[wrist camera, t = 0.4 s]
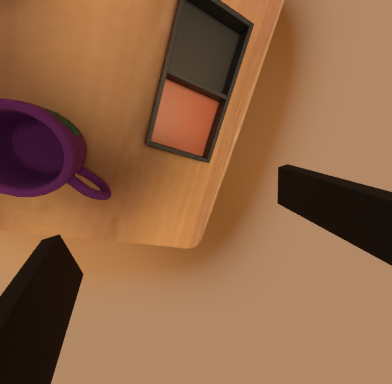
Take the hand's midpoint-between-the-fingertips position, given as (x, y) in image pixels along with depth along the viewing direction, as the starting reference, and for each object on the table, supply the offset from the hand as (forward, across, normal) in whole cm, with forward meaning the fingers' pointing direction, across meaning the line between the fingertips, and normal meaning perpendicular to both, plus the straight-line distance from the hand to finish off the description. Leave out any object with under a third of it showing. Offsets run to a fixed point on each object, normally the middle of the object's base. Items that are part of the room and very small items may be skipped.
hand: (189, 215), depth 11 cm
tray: (+27, +11, +9) cm, 31 cm away
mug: (+28, -13, +2) cm, 31 cm away
